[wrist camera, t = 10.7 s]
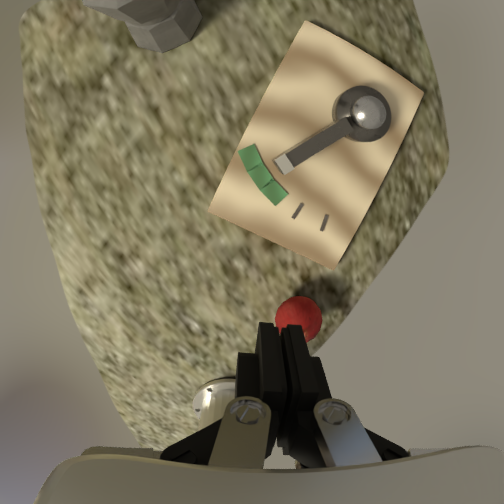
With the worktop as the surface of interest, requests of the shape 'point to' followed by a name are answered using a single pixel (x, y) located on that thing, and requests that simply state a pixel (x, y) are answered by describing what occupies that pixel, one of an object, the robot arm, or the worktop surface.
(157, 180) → the worktop surface
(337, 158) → the tuner board
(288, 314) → the onion
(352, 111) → the dial
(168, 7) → the coffeepot
